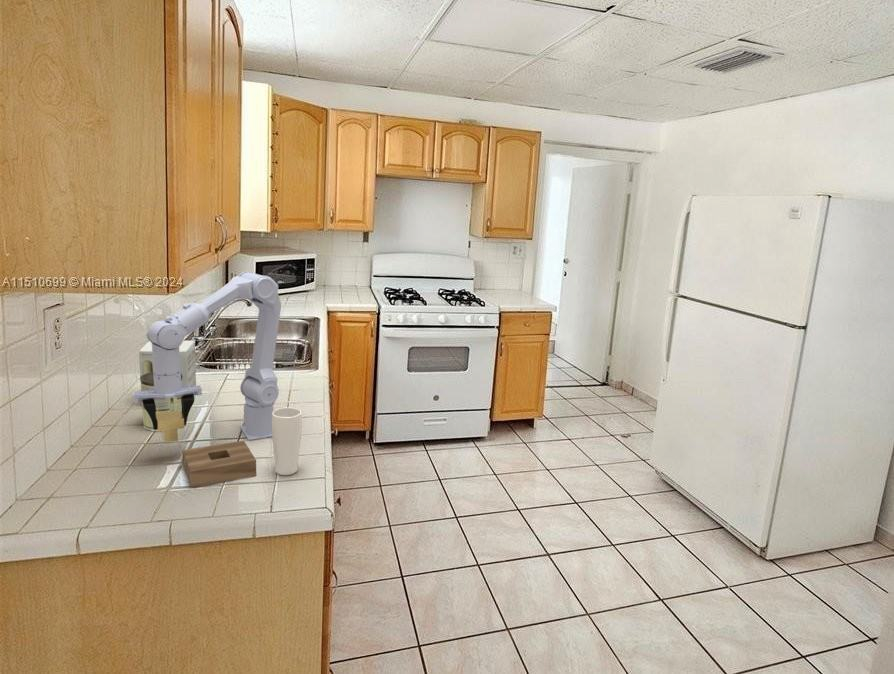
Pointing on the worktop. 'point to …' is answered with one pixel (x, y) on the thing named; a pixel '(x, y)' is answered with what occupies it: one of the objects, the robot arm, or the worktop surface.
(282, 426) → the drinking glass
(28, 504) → the worktop surface
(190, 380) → the supplement box
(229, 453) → the brown wooden block
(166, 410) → the coffee can
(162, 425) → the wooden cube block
